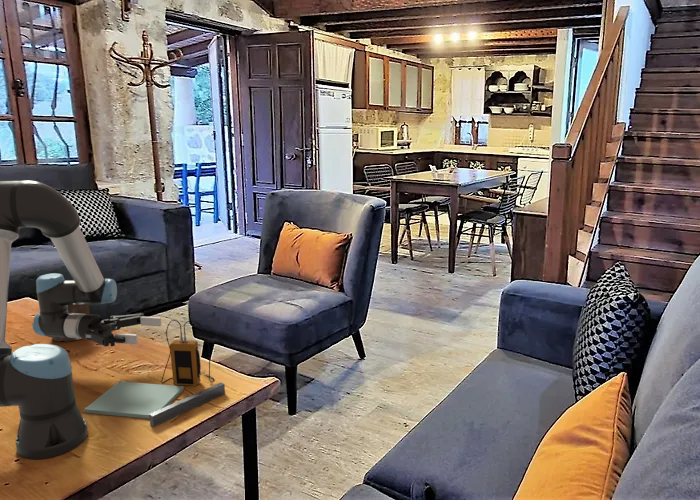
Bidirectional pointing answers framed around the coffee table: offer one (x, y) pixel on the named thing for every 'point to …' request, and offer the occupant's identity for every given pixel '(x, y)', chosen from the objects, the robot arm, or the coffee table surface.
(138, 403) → the plate
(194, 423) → the coffee table surface
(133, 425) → the coffee table surface
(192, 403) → the guide rail
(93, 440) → the coffee table surface
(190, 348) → the corded orange upright block
